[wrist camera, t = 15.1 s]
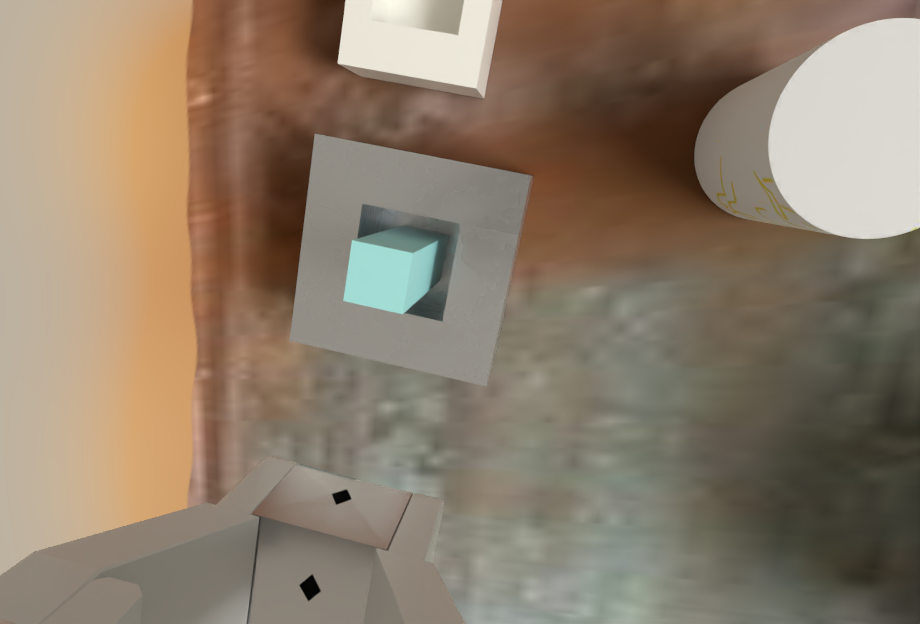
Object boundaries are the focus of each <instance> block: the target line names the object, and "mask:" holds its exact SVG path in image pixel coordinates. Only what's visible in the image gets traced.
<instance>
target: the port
mask: <svg viewBox="0 0 920 624" xmlns="http://www.w3.org/2000/svg"><path fill="white" fill-rule="evenodd" d="M533 179H534V177H533V176H531V175H526V174H521V173H516V172H511V171H505V170H500V169H495V168H490V167H485V166H480V165H474V164H469V163H464V162H459V161H454V160H449V159H443V158H438V157H433V156H428V155H423V154H418V153H413V152H407V151H402V150H397V149H392V148H387V147H382V146H376V145H371V144H366V143H361V142H356V141H351V140H345V139H340V138H335V137H330V136H325V135H320V134H315V136H314V145H313V153H312V161H311V169H310V177H309V186H308V194H307V202H306V210H305V219H304V227H303V235H302V243H301V252H300V260H299V268H298V276H297V284H296V293H295V301H294V309H293V317H292V326H291V334H290V341H293V342H298V343H302V344H306V345H311V346H315V347H319V348H324V349H328V350H332V351H336V352H341V353H345V354H349V355H354V356H358V357H362V358H366V359H371V360H375V361H379V362H384V363H388V364H392V365H397V366H401V367H405V368H409V369H414V370H418V371H422V372H427V373H431V374H435V375H439V376H444V377H448V378H452V379H457V380H461V381H465V382H470V383H474V384H478V385H482V386H487V383H488V380H489V376H490V373H491V370H492V366H493V363H494V360H495V357H496V352H497V347H498V343H499V338H500V333H501V329H502V324H503V319H504V315H505V310H506V305H507V301H508V296H509V291H510V287H511V282H512V277H513V273H514V268H515V263H516V259H517V254H518V249H519V245H520V240H521V235H522V231H523V226H524V221H525V217H526V212H527V207H528V203H529V198H530V193H531V189H532V184H533ZM403 225H404V226H409V227H413V228H418V229H423V230H428V231H433V232H437V233H442V234H447V235H449V236H448V242H447V247H446V252H445V258H444V263H443V269H442V274H441V279H440V281H439V282H438V283H437V284H436V285H435V286H434V287H433V288H431V289H430V290H429V291H428V292H427V293H426V294H425V295H424V296H423V297H421V298H420V299H419V300H418V301H417V302H416V303H415V304H414V305H412V306H411V307H410V308H409V309H408V310H407V311H406V312H405V313H404V314H399V313H395V312H390V311H386V310H381V309H377V308H373V307H368V306H364V305H359V304H355V303H350V302H346V301H343V299H344V292H345V285H346V278H347V271H348V265H349V258H350V251H351V244H352V240H354V239H358V238H361V237H365V236H368V235H372V234H375V233H379V232H382V231H386V230H389V229H393V228H396V227H399V226H403Z"/></svg>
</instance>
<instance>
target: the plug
mask: <svg viewBox="0 0 920 624" xmlns="http://www.w3.org/2000/svg"><path fill="white" fill-rule="evenodd" d="M448 236H449V235H447V234H442V233H437V232H433V231H428V230H423V229H418V228H413V227H409V226H404V225H403V226H399V227H396V228H393V229H389V230H386V231H382V232H379V233H375V234H372V235H368V236H365V237H361V238H358V239H354V240H352V244H351V251H350V258H349V265H348V271H347V278H346V285H345V292H344V299H343V301H346V302H350V303H355V304H359V305H364V306H368V307H373V308H377V309H381V310H386V311H390V312H395V313H399V314H404V313H405V312H406V311H407V310H408V309H409V308H410V307H411V306H412V305H414V304H415V303H416V302H417V301H418V300H419V299H420V298H421V297H423V296H424V295H425V294H426V293H427V292H428V291H429V290H430V289H431V288H433V287H434V286H435V285H436V284H437V283H438V282H439V281H440V279H441V274H442V269H443V263H444V258H445V252H446V247H447V242H448Z"/></svg>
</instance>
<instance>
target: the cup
mask: <svg viewBox="0 0 920 624" xmlns="http://www.w3.org/2000/svg"><path fill="white" fill-rule="evenodd" d="M694 162H695V170H696V174H697V177H698V180H699V182H700V185H701V187H702V189H703V190H704V192H705V193H706V195H707V196H708V197H709V198H710V199H711V201H712V202H713V203H715V204H716V205H717V206H718V207H719V208H721V209H722V210H724V211H726V212H727V213H729V214H732V215H734V216H737V217H740V218H744V219H749V220H754V221H760V222H765V223H771V224H777V225H782V226H788V227H793V228H799V229H805V230H810V231H816V232H821V233H827V234H833V235H838V236H844V237H850V238H859V239H874V238H884V237H890V236H895V235H899V234H903V233H906V232H909V231H912V230H915V229H917V228H919V227H920V19H913V18H894V19H885V20H880V21H875V22H871V23H867V24H864V25H861V26H858V27H855V28H853V29H851V30H848V31H846V32H844V33H842V34H840V35H838V36H836V37H834V38H832V39H830V40H829V41H827V42H825V43H823V44H821V45H819V46H817V47H815V48H813V49H811V50H809V51H807V52H805V53H803V54H801V55H799V56H797V57H795V58H793V59H791V60H789V61H787V62H785V63H783V64H781V65H780V66H778V67H776V68H774V69H772V70H770V71H768V72H766V73H764V74H762V75H760V76H758V77H756V78H754V79H752V80H750V81H748V82H746V83H744V84H742V85H740V86H738V87H737V88H735V89H733V90H732V91H730V92H729V93H727V94H726V95H725V96H724V97H723V98H721V99H720V100H719V101H718V102H717V103H716V104H715V105H714V107H713V108H712V109H711V110H710V112H709V113H708V115H707V116H706V118H705V119H704V121H703V123H702V125H701V127H700V130H699V133H698V136H697V139H696V144H695V151H694Z"/></svg>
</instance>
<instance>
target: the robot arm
mask: <svg viewBox="0 0 920 624" xmlns="http://www.w3.org/2000/svg"><path fill="white" fill-rule="evenodd" d="M443 507H444V501H443V499H439V498H434V497H429V496H425V495H420V494H415V493H414V494H413V493H411V492H407V491H402V490H398V489H394V488H389V487H385V486H381V485H376V484H372V483H367V482H363V481H359V480H356V479H354V478H350V477H347V476H343V475H339V474H336V473H332V472H329V471H325V470H321V469H318V468H314V467H311V466H307V465H303V464H298V463H297V462H294V461H289V460H285V459H281V458H277V457H266V458H265V459H264V460H263V461H262V462H260V463H259V464H258V465H257V466H256V467H255V468H254V469H253V470H252V471H251V472H250V473H249V474H248V475H247V476H246V477H245V478H244V479H243V480H242V481H241V482H240V483H238V484H237V485H236V486H235V487H234V488H233V489H232V490H231V491H230V492H229V493H228V494H227V495H226V496H225V497H224V498H223V499H222V500H221V501H220V502H219V503H218V504H216V505H214V504H210V503H204V504H201V505H197V506H194V507H190V508H187V509H183V510H180V511H176V512H173V513H169V514H166V515H162V516H159V517H155V518H152V519H148V520H144V521H141V522H137V523H134V524H130V525H127V526H123V527H120V528H116V529H113V530H109V531H106V532H103V533H99V534H95V535H92V536H88V537H85V538H81V539H78V540H74V541H71V542H67V543H64V544H60V545H57V546H53V547H49V548H46V549H42V550H39V551H35V552H33V553H32V554H30V555H29V556H28V557H26V558H25V559H23V560H22V561H21V562H19V563H18V564H16V565H15V566H14V567H12V568H11V569H9V570H8V571H6V572H5V573H3V574H2V575H1V576H0V624H465V622H464V620H463V618H462V616H461V614H460V612H459V611H458V609H457V607H456V605H455V603H454V601H453V599H452V597H451V596H450V594H449V592H448V590H447V588H446V586H445V584H444V582H443V581H442V579H441V577H440V575H439V573H438V571H437V569H436V567H435V565H434V564H433V563H432V561H433V557H434V552H435V547H436V542H437V537H438V533H439V528H440V523H441V518H442V513H443Z"/></svg>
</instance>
